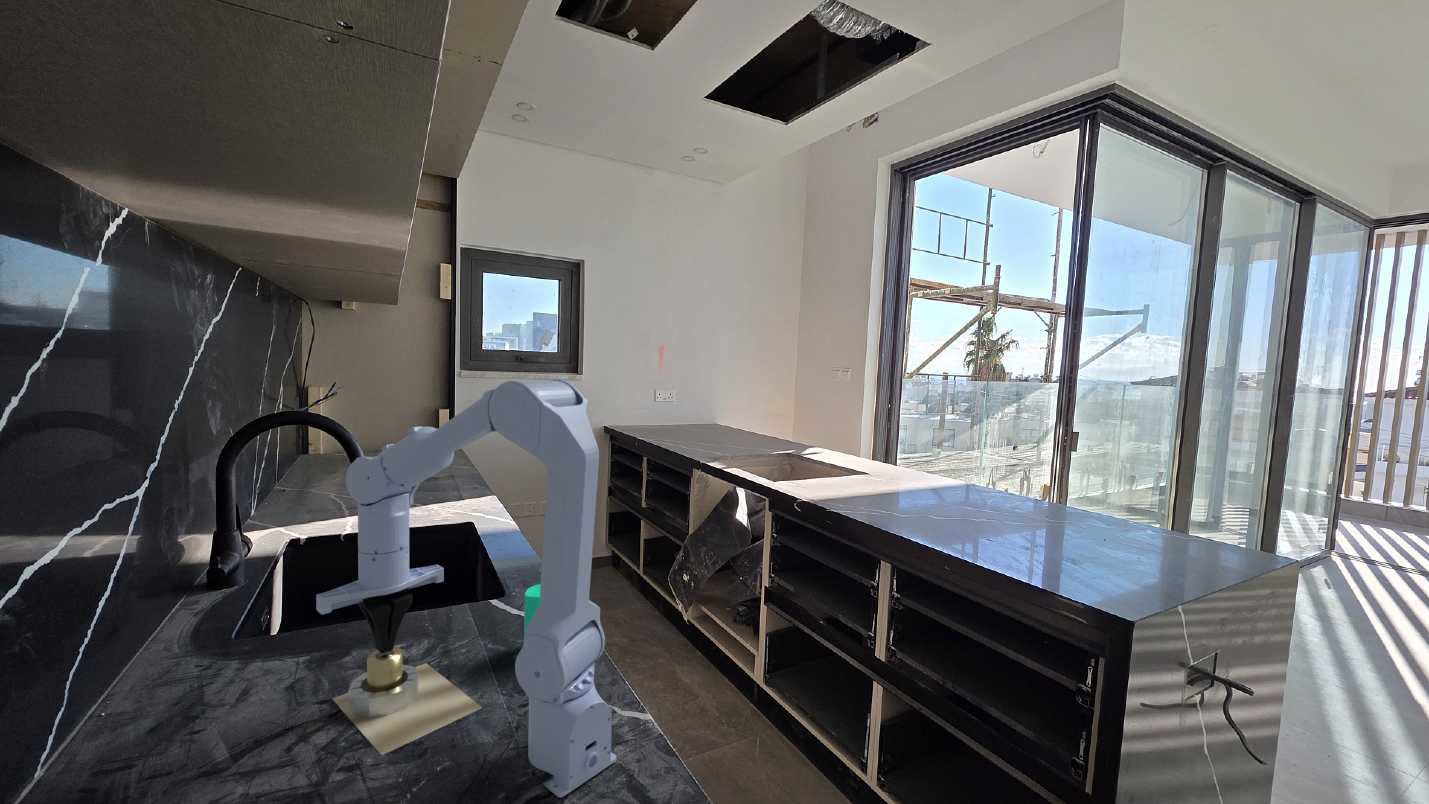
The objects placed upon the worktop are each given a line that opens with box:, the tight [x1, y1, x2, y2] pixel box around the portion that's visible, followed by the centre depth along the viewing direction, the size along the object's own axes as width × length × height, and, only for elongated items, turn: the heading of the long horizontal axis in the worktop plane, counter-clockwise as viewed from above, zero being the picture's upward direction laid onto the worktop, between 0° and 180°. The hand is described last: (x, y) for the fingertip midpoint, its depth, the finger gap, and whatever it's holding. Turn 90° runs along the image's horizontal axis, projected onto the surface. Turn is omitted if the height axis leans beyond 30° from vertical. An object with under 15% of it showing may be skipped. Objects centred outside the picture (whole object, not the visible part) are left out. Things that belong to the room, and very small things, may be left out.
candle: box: [523, 583, 541, 637], centre depth 88 cm, size 6×6×12 cm
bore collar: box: [347, 664, 419, 718], centre depth 74 cm, size 8×8×2 cm
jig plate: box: [332, 662, 483, 756], centre depth 74 cm, size 16×12×1 cm
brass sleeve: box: [366, 646, 403, 693], centre depth 74 cm, size 4×4×6 cm
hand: (384, 649), depth 74 cm, fingers closed
